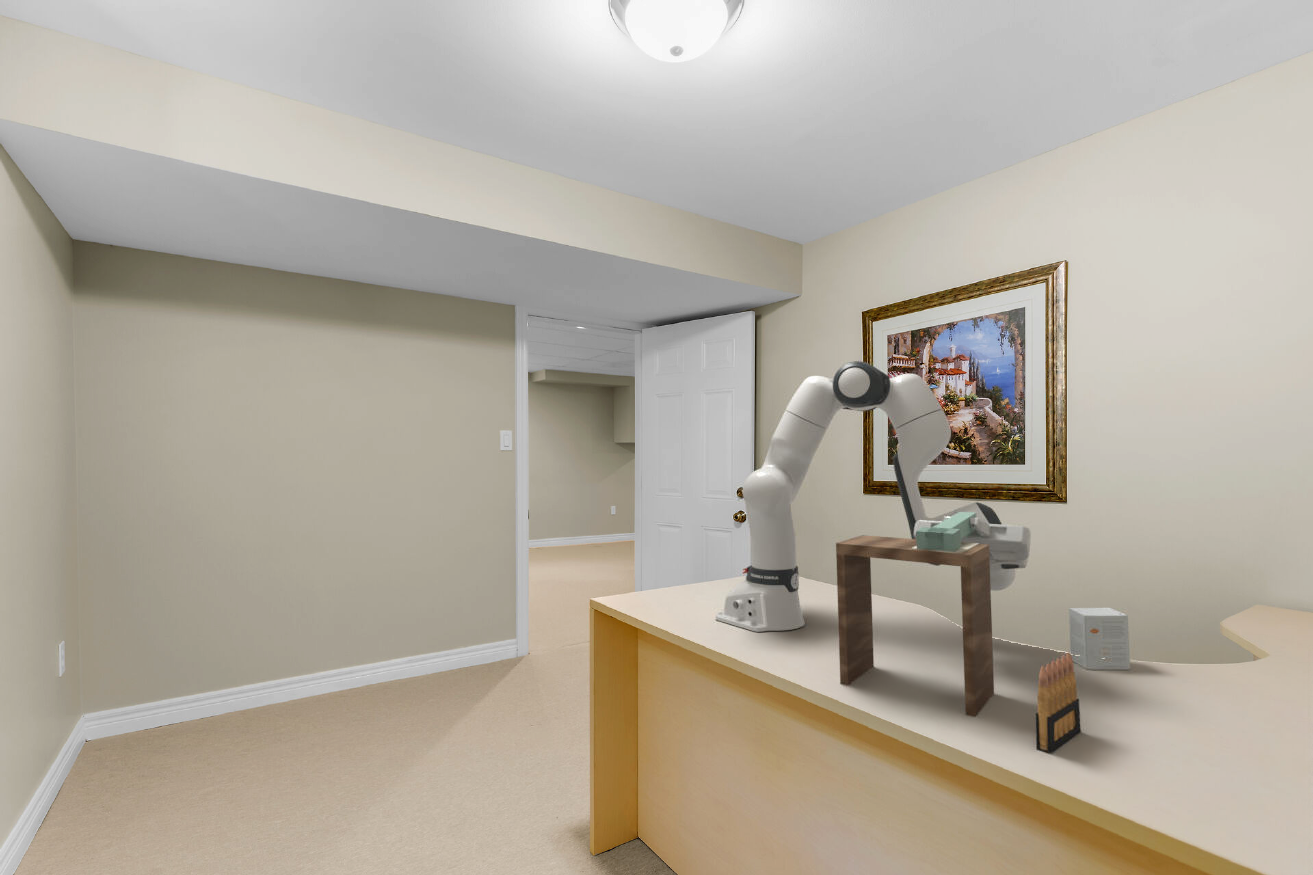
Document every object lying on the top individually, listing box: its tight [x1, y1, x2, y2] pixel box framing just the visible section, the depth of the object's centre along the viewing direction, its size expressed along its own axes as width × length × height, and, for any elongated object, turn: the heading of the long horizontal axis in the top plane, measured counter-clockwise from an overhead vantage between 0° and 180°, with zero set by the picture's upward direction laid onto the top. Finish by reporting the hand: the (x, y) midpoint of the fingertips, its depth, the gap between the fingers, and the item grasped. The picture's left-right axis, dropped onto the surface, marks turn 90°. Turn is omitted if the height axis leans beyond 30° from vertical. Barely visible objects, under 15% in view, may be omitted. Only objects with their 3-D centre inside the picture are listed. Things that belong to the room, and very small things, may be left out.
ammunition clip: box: [1035, 652, 1082, 754], centre depth 91 cm, size 11×2×12 cm, turn 126°
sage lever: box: [916, 512, 977, 552], centre depth 111 cm, size 6×20×3 cm, turn 138°
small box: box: [1068, 607, 1131, 671], centre depth 120 cm, size 8×6×10 cm
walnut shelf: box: [835, 534, 995, 718], centre depth 112 cm, size 23×12×26 cm, turn 49°
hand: (960, 520), depth 115 cm, fingers closed on sage lever, 3 cm apart
